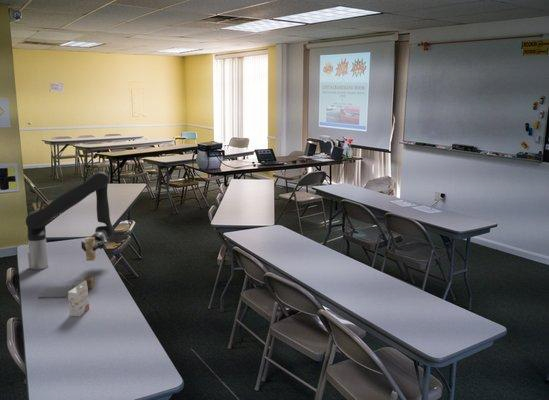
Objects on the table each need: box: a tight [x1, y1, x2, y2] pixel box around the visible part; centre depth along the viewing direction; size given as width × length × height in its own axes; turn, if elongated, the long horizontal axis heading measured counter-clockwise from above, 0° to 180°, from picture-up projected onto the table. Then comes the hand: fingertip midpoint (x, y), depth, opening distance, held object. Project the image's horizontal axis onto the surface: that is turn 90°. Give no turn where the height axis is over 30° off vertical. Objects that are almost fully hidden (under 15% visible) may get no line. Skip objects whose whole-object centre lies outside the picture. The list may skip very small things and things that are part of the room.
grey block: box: [72, 279, 86, 289], centre depth 243 cm, size 5×5×6 cm
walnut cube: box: [81, 276, 95, 290], centre depth 251 cm, size 5×5×5 cm
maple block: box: [84, 236, 97, 262], centre depth 256 cm, size 4×4×12 cm
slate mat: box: [38, 285, 73, 299], centre depth 244 cm, size 13×13×1 cm
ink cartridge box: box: [67, 281, 90, 317], centre depth 221 cm, size 9×5×15 cm, turn 168°
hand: (89, 249), depth 253 cm, fingers closed on maple block, 4 cm apart
